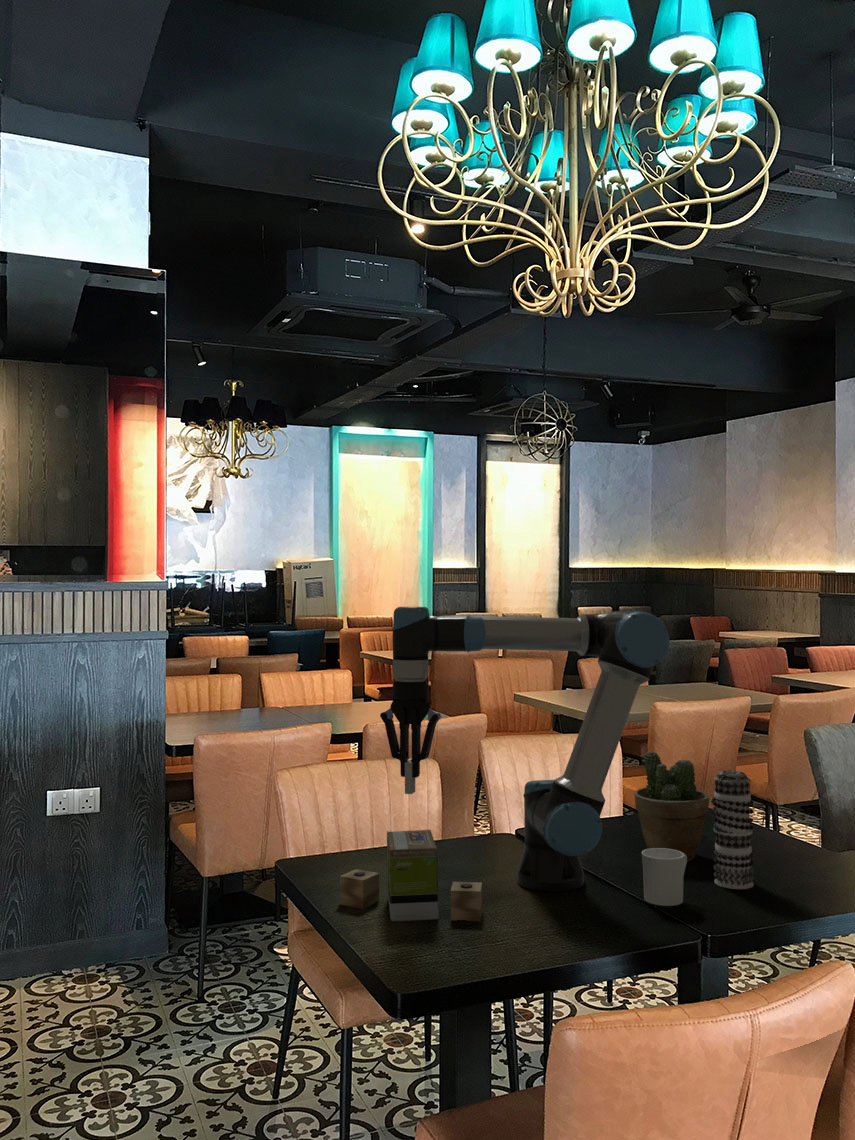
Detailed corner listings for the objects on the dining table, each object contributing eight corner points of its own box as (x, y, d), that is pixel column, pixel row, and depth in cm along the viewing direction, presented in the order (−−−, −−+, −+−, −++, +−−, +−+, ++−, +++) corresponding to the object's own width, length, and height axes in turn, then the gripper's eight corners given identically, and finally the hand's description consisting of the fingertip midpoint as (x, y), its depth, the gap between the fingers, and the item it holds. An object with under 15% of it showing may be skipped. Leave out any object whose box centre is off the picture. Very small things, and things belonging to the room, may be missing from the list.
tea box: (386, 898, 203) (386, 829, 203) (432, 897, 204) (432, 828, 204) (389, 922, 188) (389, 847, 188) (439, 920, 189) (439, 846, 189)
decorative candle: (710, 887, 210) (708, 774, 210) (714, 875, 218) (712, 767, 219) (753, 891, 206) (751, 777, 207) (756, 880, 215) (754, 770, 216)
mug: (661, 911, 193) (660, 861, 194) (633, 899, 201) (632, 851, 202) (701, 903, 198) (700, 854, 199) (672, 892, 206) (671, 844, 207)
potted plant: (719, 852, 238) (718, 753, 239) (698, 870, 223) (696, 764, 223) (649, 842, 248) (648, 747, 249) (624, 859, 232) (622, 758, 233)
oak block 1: (379, 901, 201) (379, 872, 201) (363, 909, 196) (363, 879, 196) (356, 896, 204) (356, 868, 204) (339, 904, 199) (339, 875, 199)
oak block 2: (482, 911, 194) (481, 881, 194) (480, 921, 188) (480, 890, 188) (453, 910, 195) (453, 880, 195) (450, 920, 189) (450, 889, 189)
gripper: (445, 679, 199) (444, 791, 198) (386, 677, 203) (386, 787, 202) (435, 682, 192) (435, 798, 191) (375, 680, 196) (374, 794, 195)
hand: (410, 792), depth 197 cm, fingers closed
